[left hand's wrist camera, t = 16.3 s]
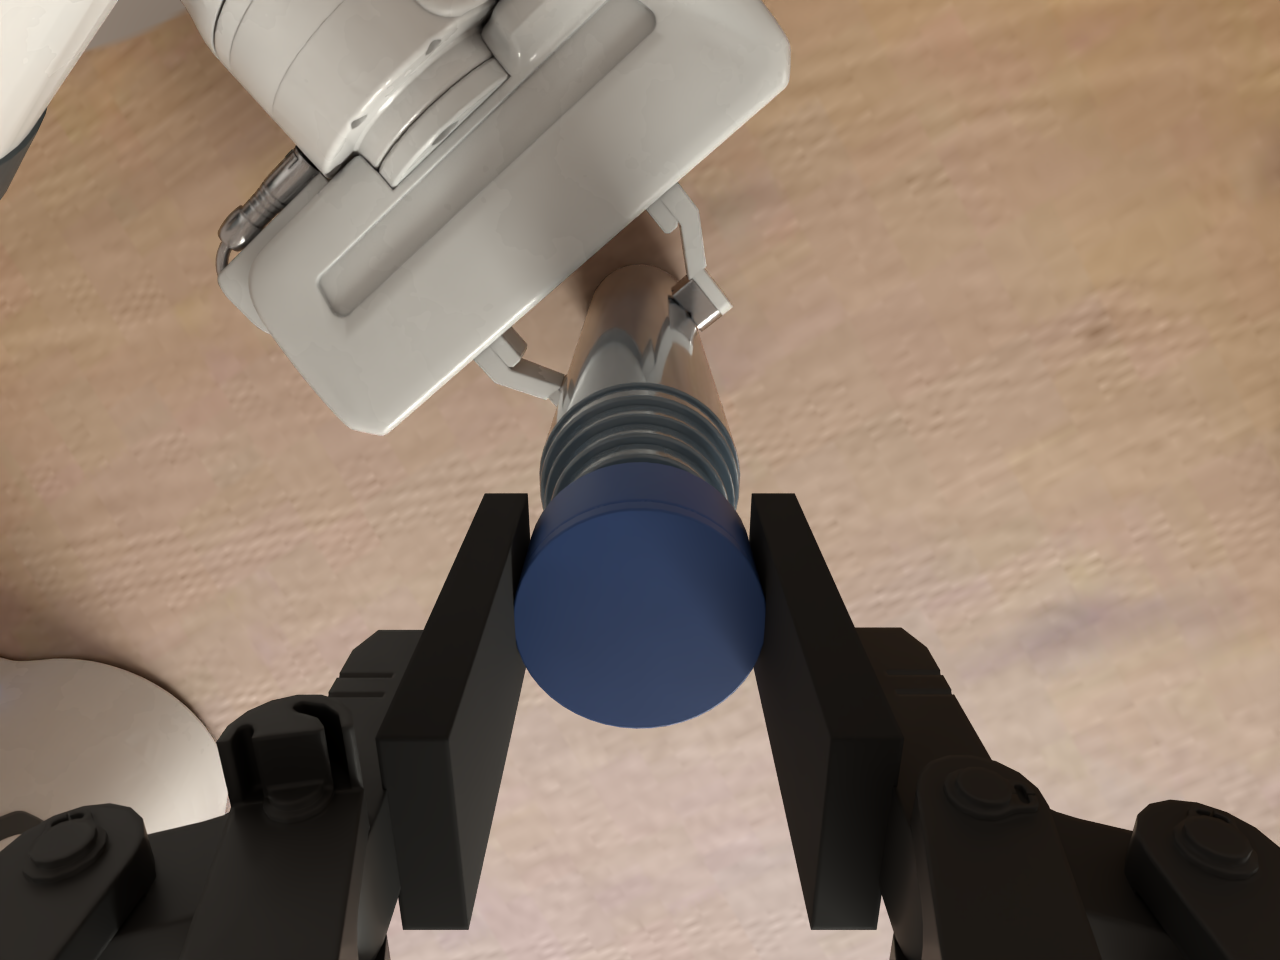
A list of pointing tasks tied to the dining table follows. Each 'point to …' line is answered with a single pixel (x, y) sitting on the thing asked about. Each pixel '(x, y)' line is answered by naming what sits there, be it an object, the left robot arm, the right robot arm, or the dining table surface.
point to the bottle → (639, 391)
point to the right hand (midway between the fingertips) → (655, 366)
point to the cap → (639, 597)
